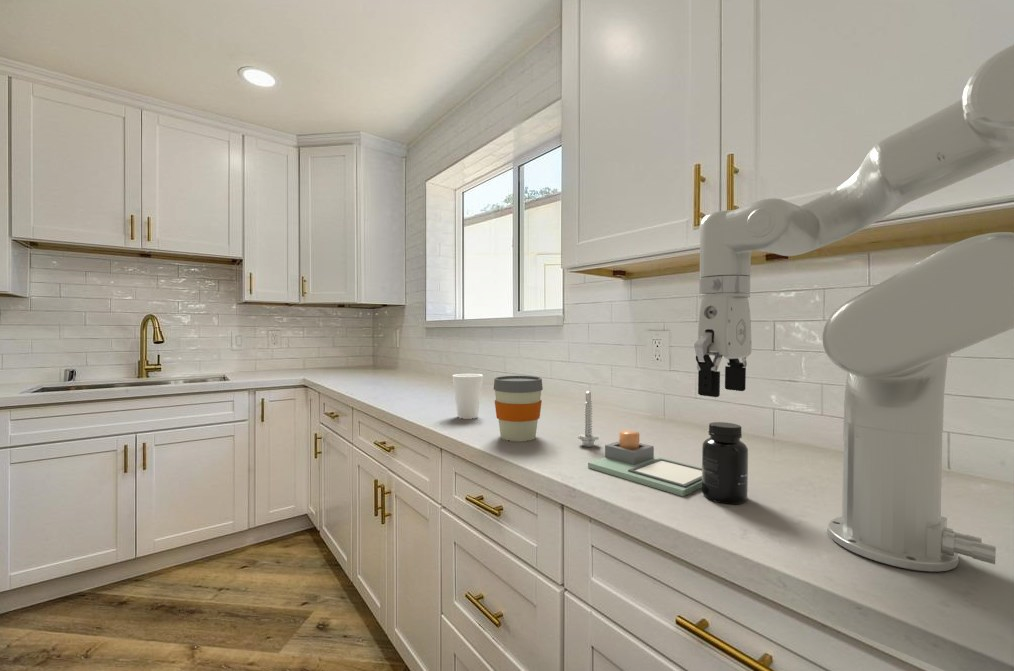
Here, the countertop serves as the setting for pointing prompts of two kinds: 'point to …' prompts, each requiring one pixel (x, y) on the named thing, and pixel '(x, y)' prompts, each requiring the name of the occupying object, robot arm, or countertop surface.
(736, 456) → the supplement bottle
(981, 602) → the countertop surface
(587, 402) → the screw
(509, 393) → the reusable coffee cup
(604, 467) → the mint green tray
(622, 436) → the button
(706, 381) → the robot arm
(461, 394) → the foam cup
